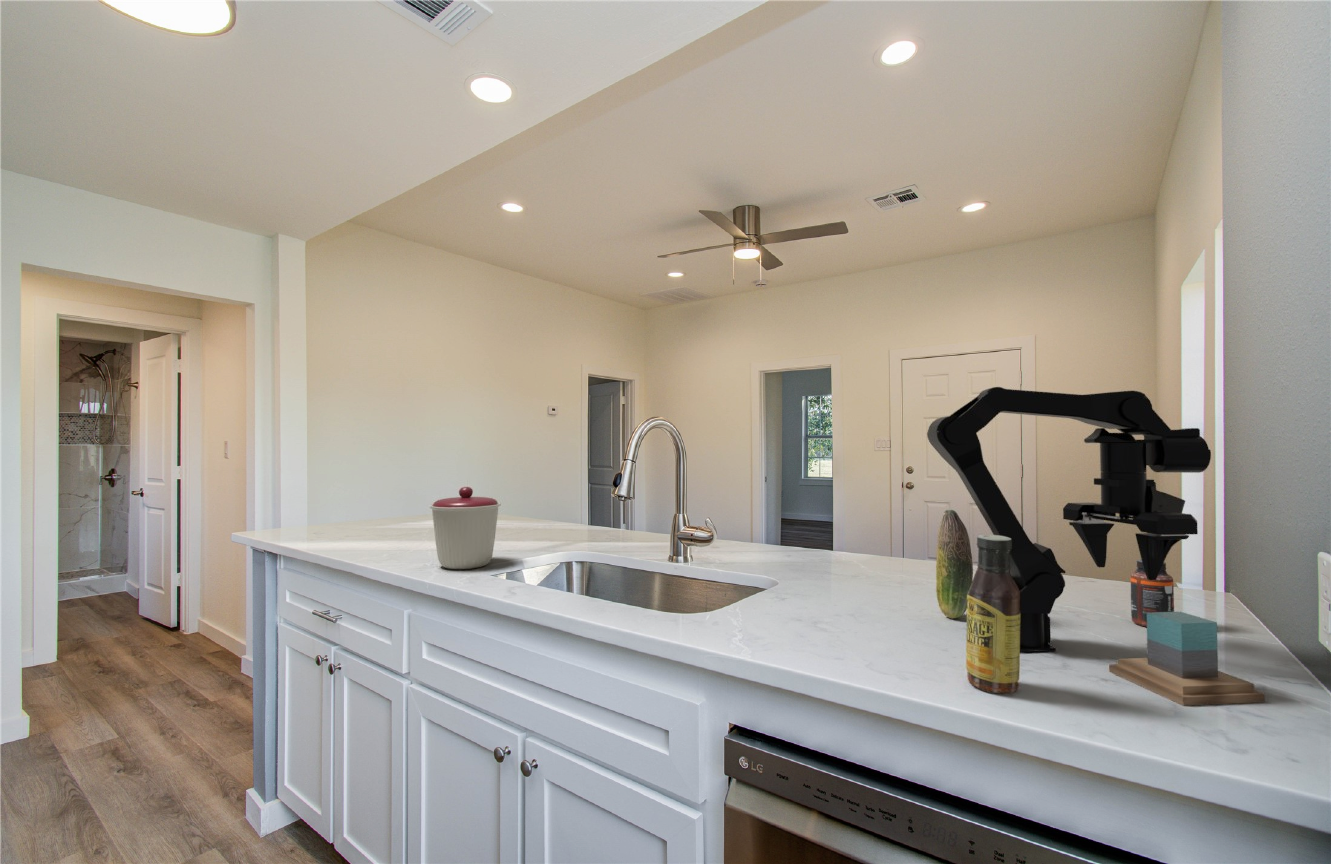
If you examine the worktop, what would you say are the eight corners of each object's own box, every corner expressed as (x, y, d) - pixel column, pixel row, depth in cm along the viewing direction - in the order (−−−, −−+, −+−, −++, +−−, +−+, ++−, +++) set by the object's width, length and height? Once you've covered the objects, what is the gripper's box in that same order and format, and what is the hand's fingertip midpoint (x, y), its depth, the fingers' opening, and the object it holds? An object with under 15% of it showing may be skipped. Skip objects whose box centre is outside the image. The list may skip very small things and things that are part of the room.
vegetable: (932, 611, 115) (931, 507, 115) (967, 613, 113) (966, 507, 114) (940, 620, 109) (938, 510, 109) (977, 622, 107) (976, 511, 108)
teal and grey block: (1218, 677, 77) (1216, 622, 77) (1182, 678, 77) (1181, 623, 77) (1181, 663, 82) (1180, 611, 82) (1147, 664, 82) (1146, 612, 82)
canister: (450, 576, 147) (450, 490, 147) (416, 566, 159) (417, 487, 160) (513, 565, 160) (514, 486, 161) (478, 557, 172) (479, 483, 173)
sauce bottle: (956, 678, 82) (954, 532, 82) (1000, 676, 83) (997, 532, 83) (986, 698, 75) (984, 540, 76) (1033, 696, 76) (1030, 539, 76)
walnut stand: (1183, 705, 73) (1183, 688, 73) (1109, 671, 84) (1108, 657, 84) (1265, 701, 74) (1264, 685, 74) (1181, 668, 85) (1180, 654, 85)
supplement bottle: (1182, 631, 102) (1181, 564, 103) (1143, 629, 103) (1141, 563, 104) (1161, 621, 108) (1160, 558, 108) (1124, 619, 109) (1123, 557, 110)
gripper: (1232, 475, 84) (1235, 586, 84) (1120, 469, 103) (1122, 560, 103) (1159, 475, 84) (1161, 588, 83) (1059, 470, 102) (1061, 562, 102)
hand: (1125, 573), depth 93 cm, fingers open, 9 cm apart
